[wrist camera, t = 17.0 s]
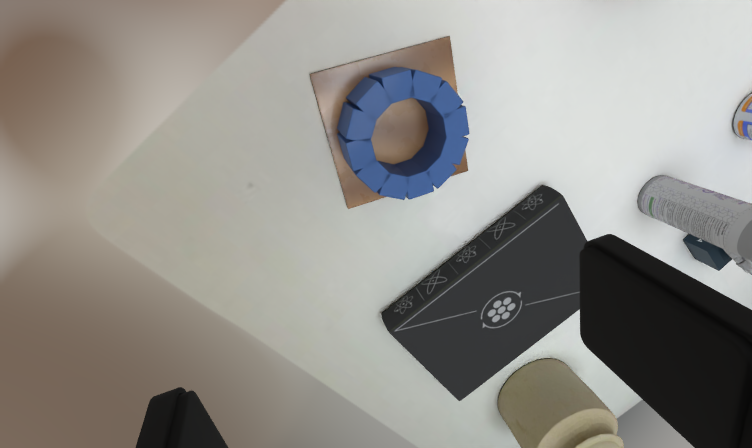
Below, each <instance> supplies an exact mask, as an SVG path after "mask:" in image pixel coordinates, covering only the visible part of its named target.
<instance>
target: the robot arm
mask: <svg viewBox="0 0 752 448" xmlns="http://www.w3.org/2000/svg"><path fill="white" fill-rule="evenodd" d="M579 262H580V334H581V338H582V340H583V342H584V344H585V345H586V347H587V348H588V349H589V350H590V351H591V352H592V353H594V354H595V355H596V356H597V357H598V358H599V359H600V360H601V361H602V362H603V363H604V364H605V365H606V366H608V367H609V368H610V369H611V370H612V371H613V372H614V373H615V374H616V375H617V376H618V377H619V378H620V379H621V380H623V381H624V382H625V383H626V384H627V385H628V386H629V387H630V388H631V389H632V390H633V391H634V392H635V393H637V394H638V395H639V396H640V397H641V398H642V399H643V400H644V401H645V402H646V403H647V404H648V405H649V406H651V407H652V408H653V409H654V410H655V411H656V412H657V413H658V414H659V415H660V416H661V417H662V418H663V419H665V420H666V421H667V422H668V423H669V424H670V425H671V426H672V427H673V428H674V429H675V430H676V431H677V432H679V433H680V434H681V435H682V436H683V437H684V438H685V439H686V440H687V441H688V442H689V443H690V444H691V445H692V446H693V447H695V448H752V310H751V309H749V308H747V307H745V306H743V305H741V304H740V303H738V302H736V301H734V300H732V299H730V298H729V297H727V296H725V295H723V294H721V293H719V292H718V291H716V290H714V289H712V288H710V287H708V286H707V285H705V284H703V283H701V282H699V281H697V280H696V279H694V278H692V277H690V276H688V275H686V274H685V273H683V272H681V271H679V270H677V269H675V268H674V267H672V266H670V265H668V264H666V263H664V262H662V261H661V260H659V259H657V258H655V257H653V256H651V255H650V254H648V253H646V252H644V251H642V250H640V249H639V248H637V247H635V246H633V245H631V244H629V243H628V242H626V241H624V240H622V239H620V238H618V237H617V236H615V235H612V234H607V235H604V236H601V237H598V238H596V239H593V240H590V241H588V242H586V243H585V245H584V248H583V250H581V252H580V255H579ZM136 448H228V446H227V445H226V443H225V441H224V440H223V438H222V436H221V435H220V433H219V431H218V430H217V428H216V426H215V425H214V423H213V421H212V420H211V418H210V416H209V415H208V413H207V411H206V410H205V408H204V406H203V404H202V403H201V401H200V399H199V398H198V396H197V394H196V393H195V392H194V391H189V392H186V391H185V389H183V388H181V387H180V388H176V389H174V390H171V391H168V392H165V393H163V394H160V395H157V396H154V397H153V398H152V399H151V400H150V402H149V405H148V408H147V412H146V415H145V418H144V422H143V425H142V429H141V432H140V435H139V438H138V442H137V445H136Z"/></svg>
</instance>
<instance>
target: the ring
mask: <svg viewBox="0 0 752 448" xmlns="http://www.w3.org/2000/svg"><path fill="white" fill-rule="evenodd" d="M369 77H370V78H367V77H364V78H363V79H362V80H361V81H360V83H359V84H358V85H357V86H356V87H355V88H354V89H353V90H352V91H351V92H350V93H349V94H348V96H347V97H346V99H347V100H348V101H349V102H350V103H351V104H350V103H347V102H343V106H342V110H341V114H340V118H339V122H338V126H337V129H338V130H339V131H340V133H337V136H338V139H339V143H340V146H341V150H342V153H343V157H344V159H345V160H346V162H347V164H348V165H349V167H350V168H351V169H352V171H353V172H354V173H355V175H356V176H357V177H358V178H359V179H360V180H361V181H362V182H363V183H365V184H366V185H367V186H368V187H369V188H370V189H371V190H372V191H373V192H374V193H376V192H377V193H378V194H379V195H381V196H386V197H392V198H397V199H402V200H404V199H405V196H406V197H407V198H408V199H412V198H415V197H418V196H421V195H424V194H427V193H430V192H433V191H434V189H433V185H434V186H435V187H436V188H439V187H440V186H441V185H442V184H443V183H444V182H445V181H446V180H447V179H448V178H449V177H450V176H451V175H452V174H453V173H454V172H455V171H456V170H457V169H456V167H455V166H454V165H453V164H456V165H460V163H461V160H462V157H463V154H464V151H465V148H466V146H467V143H468V138H466V137H464V136H465V135H468V134H469V128H468V120H467V113H466V107H465V106H462V105H461V104H462V103H463V101H462V99H461V98H460V97H459V96H458V94H457V93H456V92H455V91H454V89H453V88H452V87H451V86H450V85H449V83H448V82H447V81H445V80H442V78H441V77H438V76H435V75H432V74H429V73H425V72H422V71H419V70H415V69H410V68H404V67H392V68H388V69H385V70H382V71H378V72H375V73H371V74H369ZM409 98H414V99H416V100H417V101H418V102H419V104H420V105H421V106H422V107H423V108H424V109H425V110H426V116H427V121H428V127H429V130H428V133H427V136H426V139H425V143H424V146H423V147H422V148H421V149H420V150H419V151H418V152H417V153H416V154H415V155H414V156H413V157H412V158H411V159H409V160H406V161H403V162H400V163H397V164H390V163H386V162H381V161H377V160H376V157H375V153H374V149H373V145H372V141H371V139H372V135H373V131H374V127H375V124H376V120H377V119H378V118H379V117H380V115H381V114H382V113H383V112H384V111H385V110H386V109H387V108H388V107H389V106H390V105H391V104H392V103H396V102H399V101H402V100H405V99H409Z"/></svg>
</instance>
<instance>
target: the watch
mask: <svg viewBox="0 0 752 448" xmlns="http://www.w3.org/2000/svg"><path fill="white" fill-rule="evenodd" d="M683 241H684V242H685V244H686V246H687V247H688V249H689V250H690V252H691V253H692V255H693V256H694V258H695V259H696V260H698V261H700V262H702V263H704V264H706V265H708V266H710V267H712V268H714V269H716V270H718V271H720V270H721V269H722V268H723V267H724V266H725V265H726V264H727V263H728V262H729V261H731V260H732V259H733V260H734V261H735V262H736V265H738V266H739V267H741V268H742V269H743V270H744V271H745V272H747V273H750V274H751V275H752V261H750V260H748V259H746V258H743V257H741V256H739V255H736V254H734V253H731V252H729V251H727V250H725V249H722V248H720V247H718V246H716V245H713V244H711V243H709V242H707V241H705V240H702V239H700V238H698V237H696V236H693V235H691V234H689V235H688V236H687V237H686V238H685V239H683Z"/></svg>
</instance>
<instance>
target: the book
mask: <svg viewBox="0 0 752 448" xmlns="http://www.w3.org/2000/svg"><path fill="white" fill-rule="evenodd" d="M586 242H587V240H586V238H585V236H584V234H583V232H582V230H581V229H580V227H579V225H578V223H577V221H576V219H575V217H574V216H573V214H572V212H571V210H570V208H569V206H568V204H567V202H566V201H565V199H564V197H563V195H561V194H560V193H559V192H557V191H556V190H554V189H552V188H550V187H548V186H543V185H542V186H541V187H540V188H539V189H537V190H536V191H535V192H534V193H532V194H531V195H530V196H529V197H527V198H526V199H525V200H524V201H522V202H521V203H520V204H519V205H517V206H516V207H515V208H514V209H512V210H511V211H510V212H509V213H507V214H506V215H505V216H504V217H502V218H501V219H500V220H498V221H497V222H496V223H495V224H493V225H492V226H491V227H490V228H488V229H487V230H486V231H485V232H483V233H482V234H481V235H480V236H478V237H477V238H476V239H475V240H473V241H472V242H471V243H470V244H468V245H467V246H466V247H465V248H463V249H462V250H461V251H460V252H458V253H457V254H456V255H455V256H453V257H452V258H451V259H450V260H448V261H447V262H446V263H444V264H443V265H442V266H441V267H439V268H438V269H437V270H436V271H434V272H433V273H432V274H431V275H429V276H428V277H427V278H426V279H424V280H423V281H422V282H421V283H419V284H418V285H417V286H416V287H414V288H413V289H412V290H411V291H409V292H408V293H407V294H406V295H404V296H403V297H402V298H401V299H399V300H398V301H397V302H395V303H394V304H393V305H392V306H390V307H389V308H388V309H387V310H385V311H384V312H383V313H382V319H383V322H384V324H385V326H386V328H387V330H388V331H389V333H390V334H391V335H392V336H393V337H394V338H395V339H396V340H397V341H398V342H399V343H400V344H401V345H402V346H403V347H405V348H406V349H407V350H408V351H409V352H410V353H411V354H412V355H413V356H414V357H415V358H416V359H417V360H418V361H419V362H420V363H421V364H422V365H423V366H424V367H425V368H426V369H427V370H428V371H429V372H430V373H431V374H432V375H433V376H434V377H435V378H436V379H437V380H438V381H439V382H440V383H441V384H442V385H443V386H444V387H445V388H446V389H447V390H448V391H449V392H450V393H451V394H452V395H453V396H454V397H455V398H456V399H458V400H459V401H461V400H462V399H463V398H465V397H466V396H467V395H469V394H470V393H471V392H473V391H474V390H475V389H476V388H478V387H479V386H480V385H482V384H483V383H484V382H486V381H487V380H488V379H489V378H491V377H492V376H493V375H495V374H496V373H497V372H498V371H500V370H501V369H502V368H504V367H505V366H506V365H508V364H509V363H510V362H511V361H513V360H514V359H515V358H517V357H518V356H519V355H521V354H522V353H523V352H524V351H526V350H527V349H528V348H530V347H531V346H532V345H534V344H535V343H536V342H537V341H539V340H540V339H541V338H543V337H544V336H545V335H547V334H548V333H549V332H550V331H552V330H553V329H554V328H556V327H557V326H558V325H560V324H561V323H562V322H563V321H565V320H566V319H567V318H569V317H570V316H571V315H572V314H574V313H575V312H576V311H578V310H579V309H580V262H579V255H580V252H581V250H583V248H584V245H585V243H586Z"/></svg>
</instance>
